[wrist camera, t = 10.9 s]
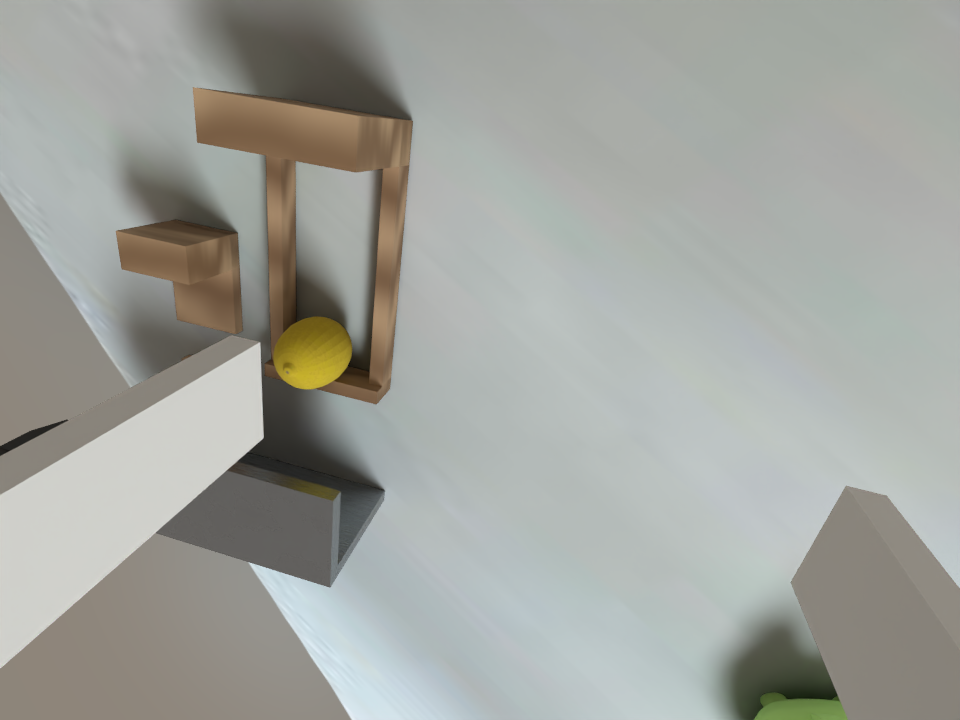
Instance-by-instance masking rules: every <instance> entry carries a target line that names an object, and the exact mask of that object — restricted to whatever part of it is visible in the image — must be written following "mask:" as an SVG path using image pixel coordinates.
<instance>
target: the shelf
mask: <svg viewBox="0 0 960 720" xmlns="http://www.w3.org/2000/svg"><path fill="white" fill-rule="evenodd" d="M384 493H385V491H384V490H381V489H377V488H373V487H370V486H366V485H363V484H359V483H356V482H352V481H348V480H345V479H341V478H338V477H334V476H330V475H327V474H323V473H320V472H316V471H313V470H309V469H305V468H302V467H298V466H295V465H291V464H288V463H284V462H280V461H277V460H273V459H270V458H266V457H263V456H259V455H255V454H252V453H248V452H247V453H246V454H245V455H244V456H243V457H241V458H240V459H239V460H238V461H237V462H236V463H235V464H233V465H232V466H231V467H230V468H229V469H228V470H227V471H225V472H224V473H223V474H222V475H221V476H220V477H219V478H217V479H216V480H215V481H214V482H213V483H212V484H211V485H209V486H208V487H207V488H206V489H205V490H204V491H203V492H201V493H200V494H199V495H198V496H197V497H196V498H195V499H193V500H192V501H191V502H190V503H189V504H188V505H186V506H185V507H184V508H183V509H182V510H181V511H180V512H178V513H177V514H176V515H175V516H174V517H173V518H172V519H170V520H169V521H168V522H167V523H166V524H165V525H164V526H162V527H161V528H160V529H159V530H158V531H157V532H156V533H158V534H161V535H164V536H167V537H170V538H173V539H177V540H180V541H183V542H186V543H189V544H193V545H196V546H199V547H202V548H205V549H209V550H212V551H215V552H218V553H222V554H225V555H228V556H231V557H234V558H237V559H241V560H244V561H247V562H250V563H253V564H257V565H260V566H263V567H266V568H269V569H273V570H276V571H279V572H282V573H285V574H289V575H292V576H295V577H298V578H301V579H305V580H308V581H311V582H314V583H317V584H321V585H324V586H327V587H331V585H332V584H333V582H334V580H335V579H336V577H337V576H338V574H339V572H340V571H341V569H342V567H343V566H344V564H345V563H346V561H347V559H348V558H349V556H350V554H351V553H352V551H353V550H354V548H355V546H356V545H357V543H358V541H359V540H360V538H361V537H362V535H363V533H364V532H365V530H366V528H367V527H368V525H369V523H370V522H371V520H372V519H373V517H374V515H375V514H376V512H377V510H378V509H379V507H380V506H381V504H382V502H383V501H384Z"/></svg>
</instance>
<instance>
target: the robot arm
mask: <svg viewBox="0 0 960 720" xmlns="http://www.w3.org/2000/svg"><path fill="white" fill-rule="evenodd" d="M263 438H264V434H263V406H262V378H261V350H260V342H258V341H254V340H250V339H246V338H241V337H237V336H233V335H230V336H229V337H227V338H225V339H223V340H221V341H219V342H217V343H215V344H213V345H211V346H209V347H208V348H206V349H204V350H202V351H200V352H198V353H196V354H194V355H192V356H190V357H188V358H187V359H185V360H183V361H181V362H179V363H177V364H175V365H173V366H171V367H169V368H167V369H166V370H164V371H162V372H160V373H158V374H156V375H154V376H152V377H150V378H148V379H147V380H145V381H143V382H141V383H139V384H137V385H135V386H133V387H131V388H129V389H127V390H126V391H124V392H122V393H120V394H118V395H116V396H115V397H112V398H111V399H108V400H106V401H105V402H103V403H101V404H99V405H97V406H95V407H93V408H91V409H89V410H87V411H85V412H84V413H82V414H80V415H78V416H76V417H74V418H72V419H70V420H64V421H61V422H58V423H55V424H51V425H48V426H45V427H42V428H38V429H35V430H32V431H29V432H27V433H25V434H23V435H21V436H20V437H17V438H16V439H14V440H12V441H10V442H8V443H6V444H4V445H2V446H0V668H1V667H2V666H3V665H5V664H6V663H7V662H8V661H9V660H10V659H11V658H13V657H14V656H15V655H16V654H17V653H18V652H20V651H21V650H22V649H23V648H24V647H25V646H26V645H27V644H28V643H30V642H31V641H32V640H33V639H34V638H35V637H37V636H38V635H39V634H40V633H41V632H42V631H43V630H45V629H46V628H47V627H48V626H49V625H50V624H51V623H53V622H54V621H55V620H56V619H57V618H58V617H60V615H62V614H63V613H64V612H65V611H66V610H68V609H69V608H70V607H71V606H72V605H73V604H74V603H76V601H78V600H79V599H80V598H81V597H82V596H83V595H85V594H86V593H87V592H88V591H89V590H90V589H91V588H93V587H94V586H95V585H96V584H97V583H98V582H99V581H101V580H102V579H103V578H104V577H105V576H106V575H108V574H109V573H110V572H111V571H112V570H113V569H114V568H115V567H117V566H118V565H119V564H120V563H121V562H122V561H123V560H124V559H126V558H127V557H128V556H129V555H130V554H132V553H133V552H134V551H135V550H136V549H137V548H138V547H140V546H141V545H142V544H143V543H144V542H145V541H146V540H148V539H149V538H150V537H151V536H152V535H153V534H154V533H156V532H157V531H158V530H159V529H160V528H161V527H162V526H164V525H165V524H166V523H167V522H168V521H169V520H170V519H172V518H173V517H174V516H175V515H176V514H177V513H178V512H180V511H181V510H182V509H183V508H184V507H185V506H186V505H188V504H189V503H190V502H191V501H192V500H193V499H195V498H196V497H197V496H198V495H199V494H200V493H201V492H203V491H204V490H205V489H206V488H207V487H208V486H209V485H211V484H212V483H213V482H214V481H215V480H216V479H217V478H219V477H220V476H221V475H222V474H223V473H224V472H225V471H227V470H228V469H229V468H230V467H231V466H232V465H233V464H235V463H236V462H237V461H238V460H239V459H240V458H241V457H243V456H244V455H245V454H246V453H247V452H248V451H249V450H251V449H252V448H253V447H254V446H255V445H256V444H257V443H259V442H260V441H261V440H262V439H263ZM791 584H792V587H793V589H794V592H795V594H796V596H797V599H798V601H799V604H800V606H801V608H802V611H803V613H804V615H805V618H806V620H807V623H808V625H809V627H810V630H811V632H812V635H813V637H814V639H815V642H816V644H817V647H818V649H819V651H820V654H821V656H822V659H823V661H824V663H825V666H826V668H827V671H828V673H829V675H830V678H831V680H832V683H833V685H834V687H835V690H836V692H837V695H838V697H839V699H840V702H841V704H842V707H843V709H844V711H845V714H846V716H847V719H848V720H960V588H959V587H958V586H957V585H956V583H955V582H954V581H953V580H952V578H951V577H950V576H949V574H948V573H947V572H946V571H945V569H944V568H943V567H942V566H941V564H940V563H939V562H938V560H937V559H936V558H935V557H934V555H933V554H932V553H931V552H930V550H929V549H928V548H927V546H926V545H925V544H924V543H923V541H922V540H921V539H920V538H919V536H918V535H917V534H916V533H915V531H914V530H913V529H912V527H911V526H910V525H909V524H908V522H907V521H906V520H905V519H904V517H903V516H902V515H901V513H900V512H899V511H898V510H897V508H896V507H895V506H894V505H893V503H892V502H891V501H890V499H889V498H888V497H887V496H885V495H881V494H877V493H873V492H869V491H865V490H861V489H857V488H853V487H849V486H846V487H845V488H844V490H843V492H842V494H841V495H840V497H839V499H838V501H837V502H836V504H835V506H834V508H833V509H832V511H831V513H830V515H829V516H828V518H827V520H826V522H825V523H824V525H823V527H822V529H821V530H820V532H819V534H818V536H817V537H816V539H815V541H814V543H813V544H812V546H811V548H810V550H809V551H808V553H807V555H806V557H805V558H804V560H803V562H802V564H801V565H800V567H799V569H798V571H797V572H796V574H795V576H794V577H793V579H792V581H791Z"/></svg>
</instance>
